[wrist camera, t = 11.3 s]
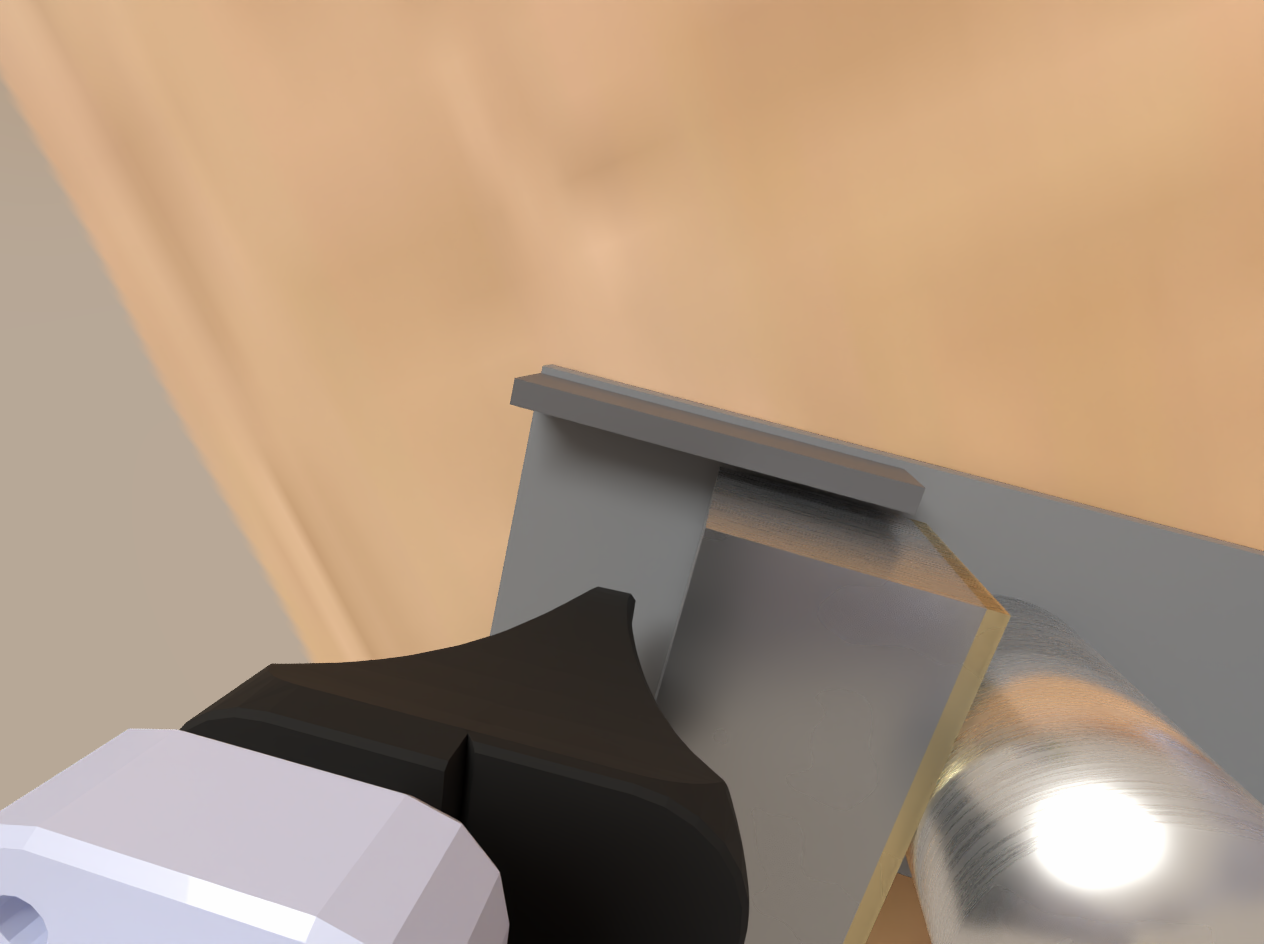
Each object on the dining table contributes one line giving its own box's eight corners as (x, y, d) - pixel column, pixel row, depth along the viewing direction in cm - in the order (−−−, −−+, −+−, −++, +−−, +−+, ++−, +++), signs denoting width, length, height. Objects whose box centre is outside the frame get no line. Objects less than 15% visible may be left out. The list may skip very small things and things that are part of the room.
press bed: (1455, 601, 11) (2106, 850, 6) (1219, 963, 13) (1528, 1380, 8) (552, 364, 13) (417, 385, 8) (482, 711, 16) (342, 908, 10)
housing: (1094, 581, 12) (1558, 919, 5) (1106, 788, 12) (1519, 1315, 6) (848, 606, 13) (957, 914, 6) (874, 795, 14) (995, 1252, 7)
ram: (926, 522, 12) (1010, 615, 8) (814, 814, 14) (838, 1004, 10) (719, 466, 12) (705, 527, 8) (638, 754, 14) (595, 912, 10)
